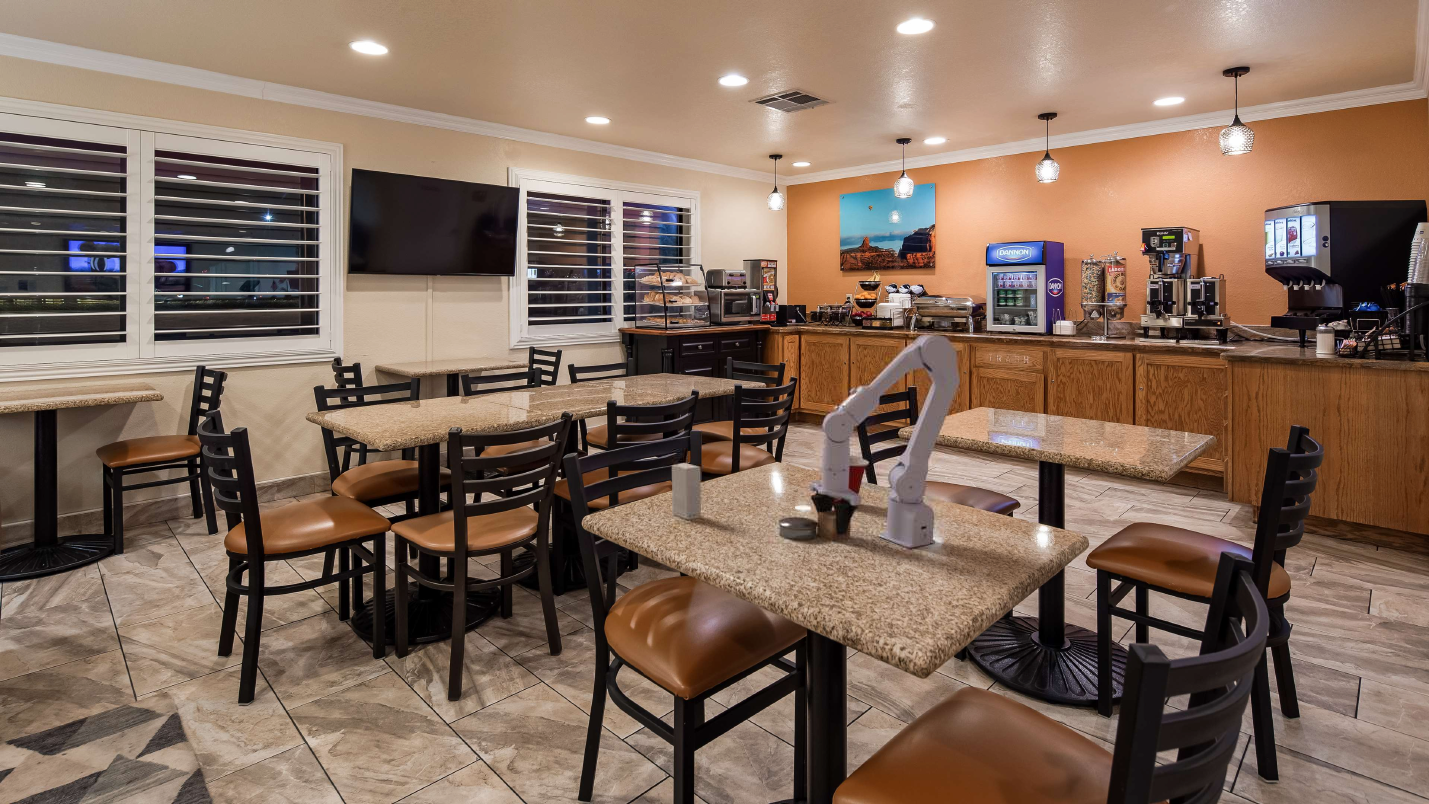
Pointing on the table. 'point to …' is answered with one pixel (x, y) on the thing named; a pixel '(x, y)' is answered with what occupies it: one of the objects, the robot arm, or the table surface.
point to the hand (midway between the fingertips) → (833, 530)
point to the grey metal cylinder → (798, 528)
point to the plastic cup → (855, 474)
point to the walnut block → (830, 526)
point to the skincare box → (686, 491)
